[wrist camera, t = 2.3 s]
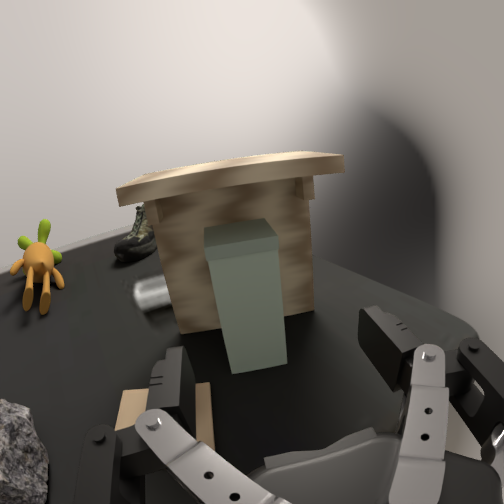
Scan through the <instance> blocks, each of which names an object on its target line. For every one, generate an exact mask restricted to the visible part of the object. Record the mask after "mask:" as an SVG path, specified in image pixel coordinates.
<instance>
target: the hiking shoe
mask: <svg viewBox="0 0 504 504" xmlns="http://www.w3.org/2000/svg"><path fill="white" fill-rule="evenodd" d="M136 210H137V213H136V220H135V223H134V225H133V228H132V231H131V233H130V234H129V235H127V236H126V237H125V238H124V239H123V240H120V241H118V242H117V243H116V244H115V247H114V253H115V256H116V257H117V258H118V259H119V260H120V261H121V262H125V263H126V262H131V261H137V260H140V259H142V258H145V257H146V256H148V255H150V254H152V253H153V252H155V249H156V247H157V244H156V239H155V235H154V230H153V226H152V225H150V226H148V221H147V216H146V212H145V207H144V204H143V205H142V207H140V206H137V207H136Z"/></svg>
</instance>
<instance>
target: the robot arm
mask: <svg viewBox="0 0 504 504" xmlns="http://www.w3.org/2000/svg"><path fill="white" fill-rule="evenodd" d="M358 341H359V345H360V347H361V348H362V350H363V351H364V353H365V354H366V355H367V357H368V358H369V359H370V361H371V362H372V364H373V365H374V366H375V368H376V369H377V370H378V372H379V373H380V375H381V376H382V377H383V379H384V380H385V382H386V383H387V384H388V386H389V387H390V389H391V390H392V392H396V391H398V390H401V389H402V390H403V391H404V394H403V398H402V403H401V408H400V413H399V418H398V423H397V427H396V431H395V433H387V432H382V433H375V431H374V430H373V428H372V427H370V428H367V429H364V430H362V431H359V432H356V433H353V434H350V435H348V436H346V437H344V438H342V439H341V440H339V441H337V442H335V443H334V444H332V445H330V446H328V447H327V448H325V449H322V450H313V451H294V452H288V453H284V454H279V455H274V456H270V457H265V458H264V461H265V465H263V466H261V467H259V468H257V469H255V470H253V471H252V472H251V473H249V474H248V475H247V476H245V475H244V474H243V473H241V472H240V471H239V470H237V469H236V468H235V467H233V466H232V465H231V464H230V463H228V462H227V461H226V460H225V459H223V458H222V457H221V456H220V455H218V454H217V453H216V452H215V451H213V450H212V449H211V448H210V447H209V446H208V445H206V444H205V443H204V442H202V441H199V442H198V441H196V383H195V376H194V372H193V369H192V366H191V363H190V360H189V357H188V355H187V352H186V349H185V347H184V346H178V347H171V348H167V352H166V359H165V360H158V361H157V363H156V364H155V366H154V367H153V368H152V373H151V379H150V386H149V390H148V396H147V403H146V409H145V412H143V413H142V414H140V415H139V416H138V418H137V419H136V422H135V424H134V425H132V426H129V427H126V428H123V429H120V430H116V431H115V430H114V428H112V427H111V426H110V425H106V424H99V425H96V426H94V427H92V428H91V429H89V430H88V432H87V433H86V435H85V438H84V443H83V447H82V453H81V458H80V463H79V469H78V475H77V481H76V488H75V495H74V503H73V504H145V474H149V473H152V472H155V471H158V470H161V469H164V468H165V470H166V471H167V472H168V473H169V474H170V475H171V476H172V477H173V478H174V479H175V480H176V481H177V482H178V483H179V484H180V485H181V486H182V487H183V488H184V489H185V490H186V491H187V492H188V493H189V494H190V495H191V496H192V497H193V498H194V499H195V501H196V502H197V503H198V504H503V499H502V487H504V362H503V361H502V360H501V359H500V358H499V357H498V356H497V355H496V354H495V353H494V352H493V351H492V350H490V349H489V347H487V346H486V345H485V344H484V343H483V342H482V341H481V340H479V339H476V338H466V339H464V340H462V341H461V342H460V345H459V348H458V349H456V350H450V351H443V350H442V349H441V348H440V347H438V346H436V345H433V344H424V343H423V342H422V341H421V340H420V339H419V338H418V337H417V336H416V335H415V334H414V333H413V332H412V331H411V330H410V329H408V328H407V326H406V325H405V324H403V323H402V321H401V320H400V319H399V318H397V317H396V316H394V315H392V314H390V313H388V312H386V313H384V312H383V311H382V310H381V309H380V308H379V307H378V306H377V305H373V306H369V307H366V308H362V309H360V311H359V325H358ZM475 380H476V382H477V383H478V384H479V385H480V386H481V388H482V389H483V391H484V395H483V394H482V393H481V392H480V391H479V389H478V388H477V387H476V386H475V385H474V381H475ZM449 401H450V403H451V404H452V405H453V407H454V408H455V409H456V411H457V412H458V414H459V415H460V417H461V418H462V419H463V421H464V422H465V424H466V425H467V427H468V428H469V429H470V431H471V432H472V434H473V435H474V437H475V438H476V440H477V441H478V442H479V444H480V446H481V447H482V448H481V458H482V459H481V461H480V460H476V459H472V458H469V457H466V456H462V455H459V454H456V453H452V452H449V451H446V450H445V443H446V434H447V421H448V405H449Z"/></svg>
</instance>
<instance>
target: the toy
mask: <svg viewBox="0 0 504 504" xmlns="http://www.w3.org/2000/svg"><path fill="white" fill-rule="evenodd" d="M50 228H51V224H50V222H49V221H48V220H46V219H43V220H42V221H41V222H40V224H39V228H38V242H36V243H32V242H31V241H30V240H29V239H28V238H27V237H25V236H21V237H20V238H19V239H18V245H19V247H20V248H21V249H23V250H25V252H24V255H23V259H20V260H18V261H17V262H15V263H14V264H13V266H12V267H11V269H10V274H11V275H12V276H14V275H16V274H17V273H18V271H19V269H20V268H21V267H22V266H23V273H24V274H25V275H26V276H27V281H26V288H25V291H24V295H23V308H24V310H25V311H28V310H29V309H30V308H31V305H32V302H33V282H35V283H42V282H43V291H42V295H41V299H40V308H39V310H40V313H41V314H42V315H44V314H46V313H47V312H48V309H49V306H50V301H51V297H50V279H49V277H50V276H51V274H52V275H53V277H54V279H55V282H56V284H57V286H58V288H59V289H63V288H64V281H63V278H62V276H61V274H60V273H59V272H58V271H57V270H56V269H55V268H54V264H58V263H60V262H61V260H62V255H61V254H60V253H59V252H58V251H55V250H50V248H49V247H48V246H47V245H46V241H47V238H48V235H49V232H50Z"/></svg>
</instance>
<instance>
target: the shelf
mask: <svg viewBox="0 0 504 504" xmlns="http://www.w3.org/2000/svg"><path fill="white" fill-rule="evenodd" d="M344 172H345V169H344V155H339V154H330V153H319V152H309V151H293V152H283V153H274V154H265V155H257V156H249V157H241V158H234V159H227V160H220V161H214V162H207V163H201V164H196V165H190V166H184V167H179V168H174V169H169V170H163V171H158V172H153V173H148V174H144V175H142V176H140V177H138V178H136V179H134V180H132V181H130V182H128V183H126V184H124V185H122V186H120V187H118V188H116V193H117V198H118V202H119V207H121V206H126V205H130V204H135V203H139V202H144V207H145V212H146V216H147V221H148V226H150V225H152V226H153V230H154V235H155V239H156V244H157V248H158V252H159V256H160V260H161V264H162V268H163V272H164V276H165V280H166V284H167V288H168V291H169V295H170V299H171V302H172V306H173V309H174V313H175V316H176V320H177V323H178V326H179V330H180V333H181V334H186V333H193V332H200V331H206V330H212V329H219V328H221V323H220V318H219V314H218V309H217V304H216V299H215V295H214V290H213V285H212V280H211V274H210V269H209V264H208V261H206V257H205V251H204V228H205V227H211V226H217V225H223V224H229V223H236V222H242V221H248V220H254V219H261V218H265V220H266V221H267V222H268V223H269V225H270V226H271V227H272V229H273V230H274V231H275V232H276V234H277V235H278V240H279V249H278V257H279V268H280V279H281V290H282V302H283V314H284V316H289V315H294V314H298V313H303V312H308V311H312V310H314V291H313V265H312V245H311V228H310V213H309V200H312V199H315V196H314V183H313V175H323V174H333V173H344Z"/></svg>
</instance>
